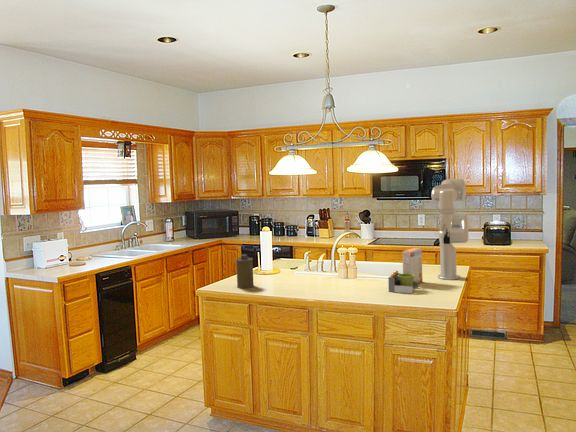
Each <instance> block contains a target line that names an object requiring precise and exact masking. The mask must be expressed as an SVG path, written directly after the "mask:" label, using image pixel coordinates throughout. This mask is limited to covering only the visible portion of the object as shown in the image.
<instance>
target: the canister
mask: <svg viewBox="0 0 576 432" xmlns="http://www.w3.org/2000/svg"><path fill="white" fill-rule="evenodd" d="M253 259H254V258H253V257H249V256H248V254H241V255H240V257H238V258H236V259H235V261H236V262H235V263H236V282H237V283H236V284H237V286H236V287H237V288H238V289H251V288H254V286H255V285H254V266H253V265H254V264H253Z"/></svg>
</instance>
